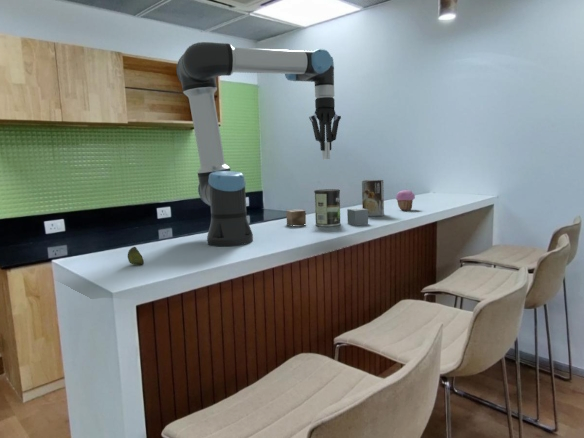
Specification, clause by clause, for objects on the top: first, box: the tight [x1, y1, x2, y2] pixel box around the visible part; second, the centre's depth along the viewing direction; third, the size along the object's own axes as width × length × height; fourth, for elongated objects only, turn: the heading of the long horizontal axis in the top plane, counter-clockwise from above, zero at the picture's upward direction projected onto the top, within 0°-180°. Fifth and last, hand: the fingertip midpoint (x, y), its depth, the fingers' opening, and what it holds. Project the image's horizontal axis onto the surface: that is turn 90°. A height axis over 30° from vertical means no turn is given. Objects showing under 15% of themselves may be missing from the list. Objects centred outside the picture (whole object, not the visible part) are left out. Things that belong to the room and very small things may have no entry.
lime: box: [127, 246, 145, 266], centre depth 112 cm, size 4×5×5 cm
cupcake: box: [395, 189, 416, 211], centre depth 207 cm, size 9×9×10 cm
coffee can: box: [313, 188, 341, 227], centre depth 169 cm, size 10×10×14 cm
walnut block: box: [285, 208, 307, 227], centre depth 172 cm, size 6×6×6 cm
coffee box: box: [361, 179, 385, 217], centre depth 192 cm, size 9×6×16 cm
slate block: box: [346, 207, 369, 226], centre depth 169 cm, size 6×6×6 cm
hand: (326, 158), depth 166 cm, fingers closed
